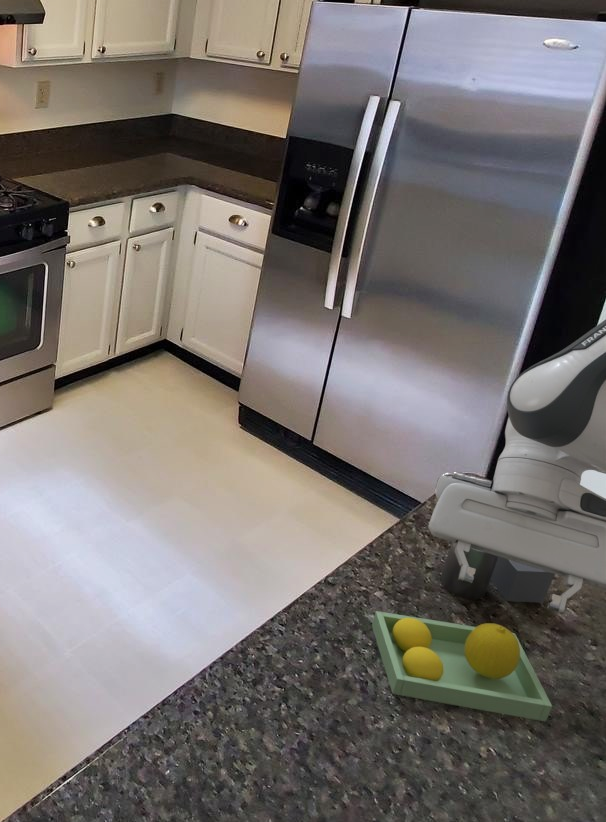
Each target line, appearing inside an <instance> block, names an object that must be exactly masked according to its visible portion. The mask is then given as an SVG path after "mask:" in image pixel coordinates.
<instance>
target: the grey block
mask: <svg viewBox="0 0 606 822" xmlns="http://www.w3.org/2000/svg"><path fill="white" fill-rule="evenodd" d="M555 576H556V574H554V573H550V572H547V571H544V570H541V569H537V568H534V567H531V566H528V565H525V564H521V563H518V562H515V561H512V560H509V559H505V558H502V557H498V560H497V563H496V566H495V568H494V571H493V574H492V577H491V579H490V582H491V584H492V585H493V586H494V588H496V590H497V591H498V593H499V594H500V595H501V596H502V598H503V599H504V600H505V602H518V603H539V604H540V606H543V604H544V602H545V600H546V598H547V594H548V592H549V589H550V587H551V585H552V582H553V580H554V577H555Z"/></svg>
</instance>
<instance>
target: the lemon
mask: <svg viewBox="0 0 606 822" xmlns="http://www.w3.org/2000/svg"><path fill="white" fill-rule="evenodd" d="M475 627H476V628H474V629H473V630H472V632H471V633H470V634H469V636H468V637H467V639H466V642H465V656H466V659H467V662H468V663H469V665H470V666H471V667H472V668H473V670H474V671H476V672H477V673H478V674H480V675H482V676H484V677H487V678H492V679H500V678H504V677H506V676H508V675H510V674H511V673H512V672H513V671H514V670H515V668H516V667H517V665H518V661H519V658H520V648H519V643H518V641H517V639H516V637H515V636H514V635H513V634H512V633H513V632H512V631H511V630H509V629H508V628H507V627H505V626H503V625H501V624H498V623H493V622H486V623H482V624H479V625H476V626H475Z"/></svg>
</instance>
